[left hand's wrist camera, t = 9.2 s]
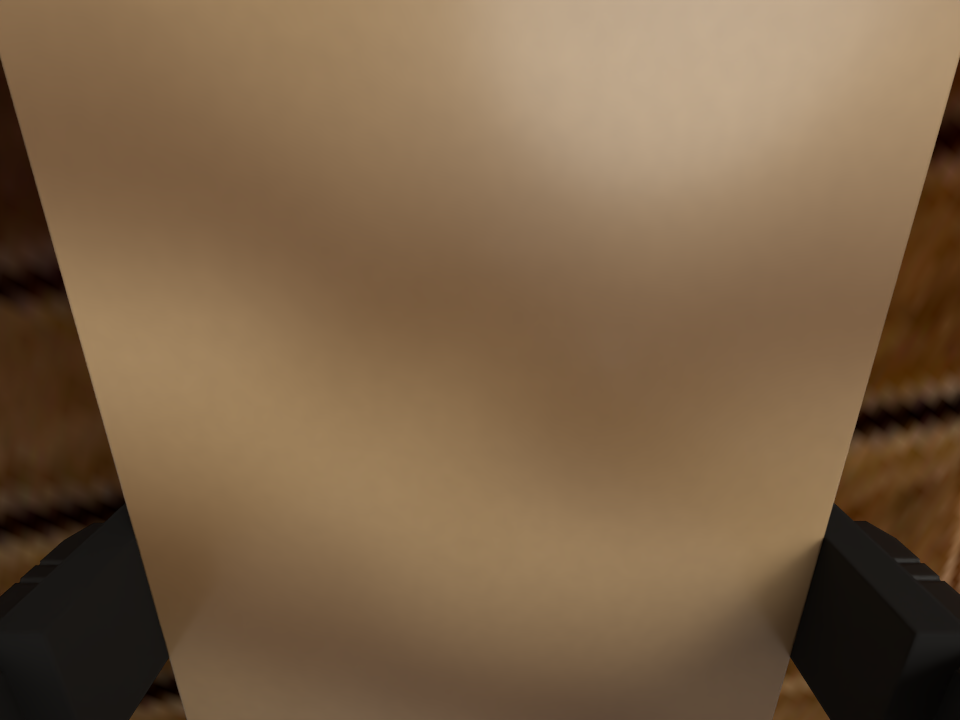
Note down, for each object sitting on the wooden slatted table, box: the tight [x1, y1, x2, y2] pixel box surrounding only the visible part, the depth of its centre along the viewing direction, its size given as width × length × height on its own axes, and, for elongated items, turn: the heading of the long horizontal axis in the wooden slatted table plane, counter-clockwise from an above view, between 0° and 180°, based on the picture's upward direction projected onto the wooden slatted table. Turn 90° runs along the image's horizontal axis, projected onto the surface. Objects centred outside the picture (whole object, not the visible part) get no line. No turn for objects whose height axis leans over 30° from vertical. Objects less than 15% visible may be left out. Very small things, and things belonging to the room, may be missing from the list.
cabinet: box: [0, 0, 960, 720], centre depth 11 cm, size 20×11×8 cm, turn 0°
